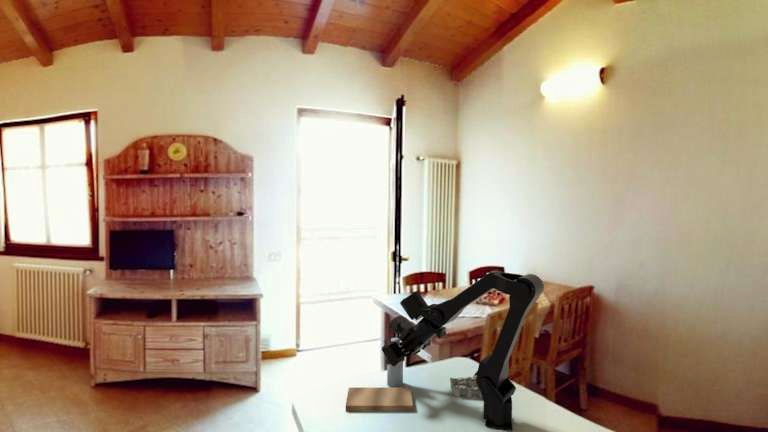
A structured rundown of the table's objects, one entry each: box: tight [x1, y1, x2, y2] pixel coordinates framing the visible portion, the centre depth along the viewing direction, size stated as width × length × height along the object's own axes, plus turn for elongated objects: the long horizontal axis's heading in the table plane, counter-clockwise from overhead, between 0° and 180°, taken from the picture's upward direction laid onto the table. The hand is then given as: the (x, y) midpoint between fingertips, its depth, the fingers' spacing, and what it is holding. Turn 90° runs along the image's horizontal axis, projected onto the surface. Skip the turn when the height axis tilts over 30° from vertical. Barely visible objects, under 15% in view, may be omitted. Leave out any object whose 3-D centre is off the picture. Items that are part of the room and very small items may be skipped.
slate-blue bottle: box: [386, 337, 404, 387], centre depth 119 cm, size 5×5×14 cm
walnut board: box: [345, 386, 414, 412], centre depth 109 cm, size 18×10×2 cm, turn 90°
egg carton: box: [449, 374, 482, 398], centre depth 115 cm, size 11×8×4 cm
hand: (391, 360), depth 120 cm, fingers closed on slate-blue bottle, 5 cm apart
